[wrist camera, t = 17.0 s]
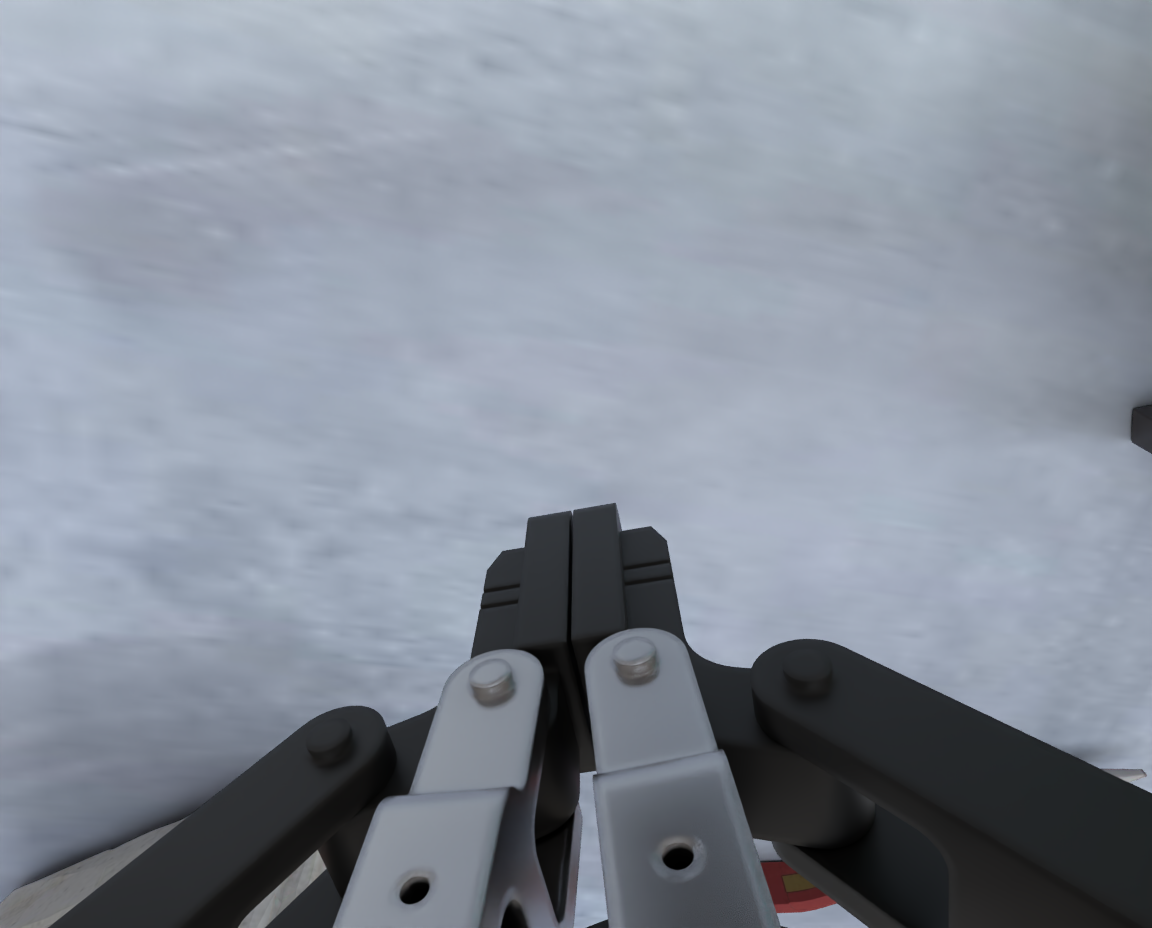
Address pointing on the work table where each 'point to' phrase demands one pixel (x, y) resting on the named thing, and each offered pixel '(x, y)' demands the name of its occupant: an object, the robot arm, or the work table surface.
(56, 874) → the jerry can
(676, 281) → the work table surface
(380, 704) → the work table surface
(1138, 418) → the small table
